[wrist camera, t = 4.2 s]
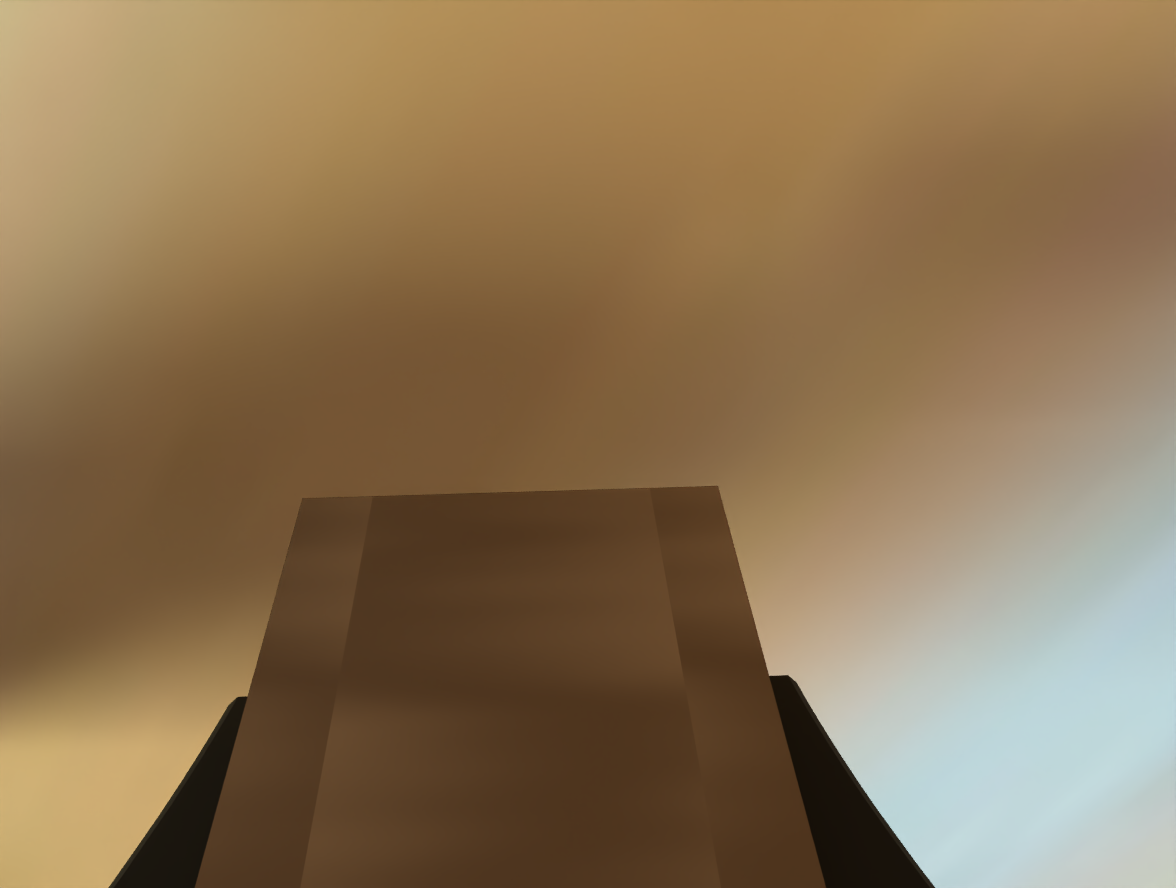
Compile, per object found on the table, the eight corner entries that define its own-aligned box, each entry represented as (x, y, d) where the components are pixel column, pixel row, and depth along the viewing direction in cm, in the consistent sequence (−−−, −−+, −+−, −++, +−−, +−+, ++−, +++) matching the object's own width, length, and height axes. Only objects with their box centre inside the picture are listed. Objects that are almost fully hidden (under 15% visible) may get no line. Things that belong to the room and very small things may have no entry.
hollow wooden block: (352, 772, 14) (262, 1353, 9) (302, 498, 11) (136, 1096, 6) (692, 758, 14) (790, 1316, 9) (717, 485, 12) (870, 1052, 7)
